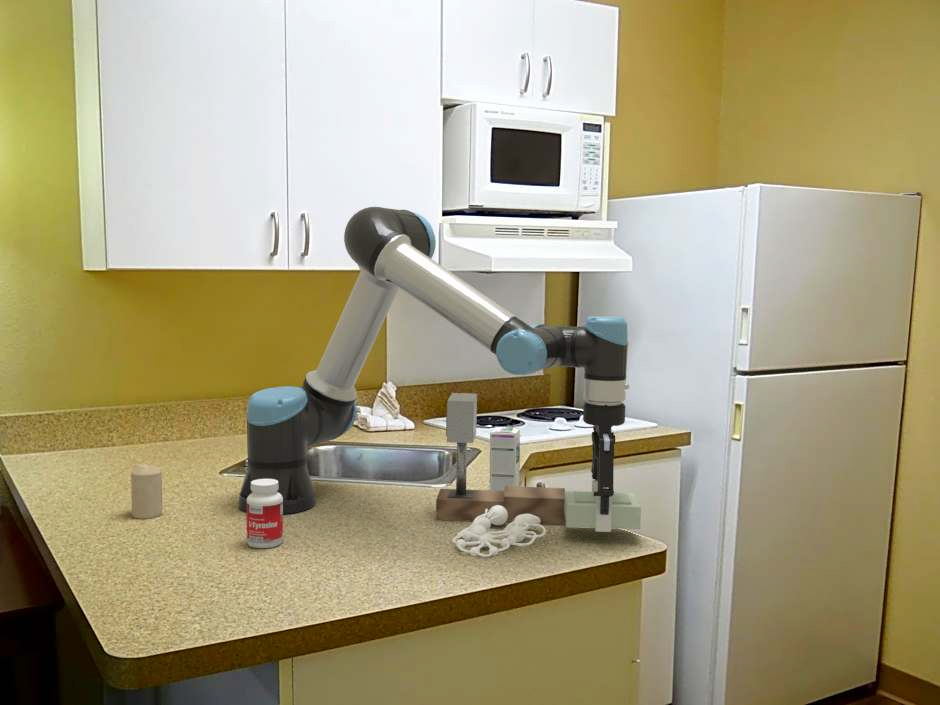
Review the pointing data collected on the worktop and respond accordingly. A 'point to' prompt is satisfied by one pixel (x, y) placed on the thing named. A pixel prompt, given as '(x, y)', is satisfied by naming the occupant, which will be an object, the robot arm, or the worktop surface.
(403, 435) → the worktop surface
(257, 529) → the pill bottle
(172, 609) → the worktop surface
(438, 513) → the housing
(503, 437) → the syrup box
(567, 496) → the cover
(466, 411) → the block
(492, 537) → the tangled rod sculpture
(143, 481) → the candle
